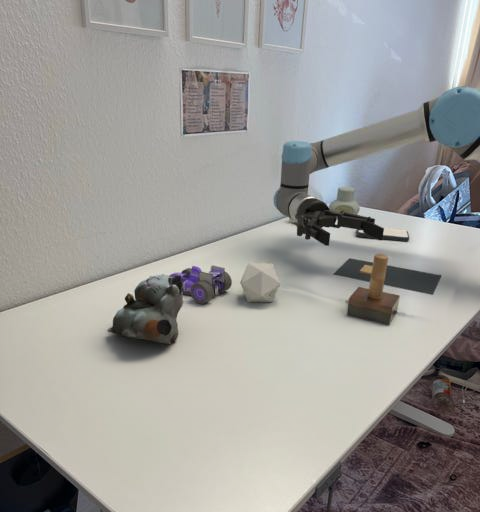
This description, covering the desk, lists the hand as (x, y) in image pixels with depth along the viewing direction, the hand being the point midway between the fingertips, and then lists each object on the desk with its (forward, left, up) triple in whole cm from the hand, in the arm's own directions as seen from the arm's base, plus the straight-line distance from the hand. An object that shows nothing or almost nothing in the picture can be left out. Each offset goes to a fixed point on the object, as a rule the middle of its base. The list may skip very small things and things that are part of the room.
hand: (355, 237), depth 104 cm
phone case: (+5, -52, -14) cm, 54 cm away
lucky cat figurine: (+28, +38, -14) cm, 49 cm away
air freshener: (+23, -68, -14) cm, 73 cm away
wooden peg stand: (-7, +6, -14) cm, 17 cm away
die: (+17, +12, -14) cm, 25 cm away
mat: (-5, -16, -14) cm, 22 cm away
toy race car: (+32, +16, -14) cm, 38 cm away
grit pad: (-1, -16, -13) cm, 20 cm away
